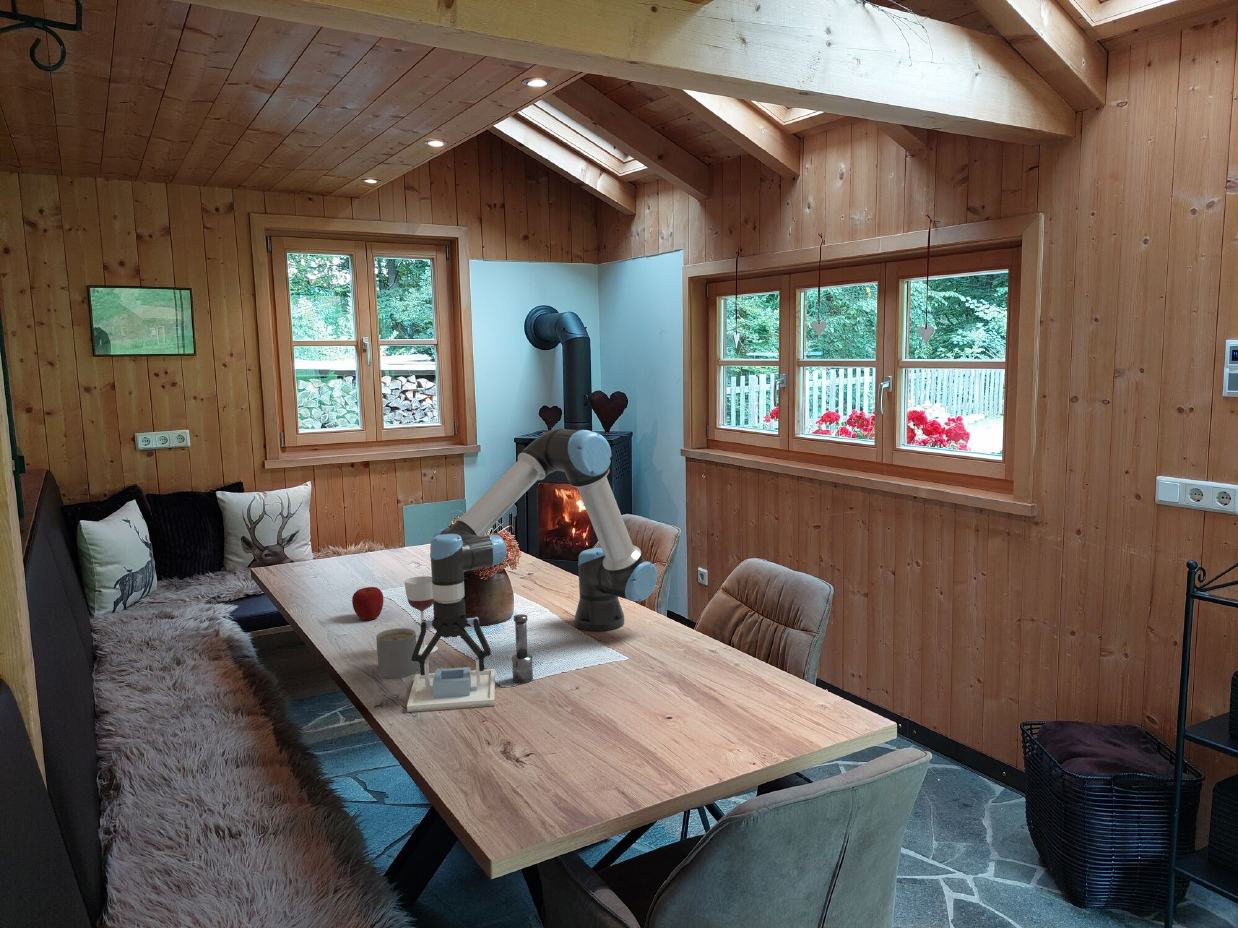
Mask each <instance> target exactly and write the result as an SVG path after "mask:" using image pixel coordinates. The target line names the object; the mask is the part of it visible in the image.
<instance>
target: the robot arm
mask: <svg viewBox="0 0 1238 928" xmlns="http://www.w3.org/2000/svg"><path fill="white" fill-rule="evenodd" d="M611 458H612V449H611V446H610V443H609V442H608V440H607V439H606V438H605V437H604V436H603V435H601V434H600V433H598V432H595V431H592V430H588V429H580V430H578V429H577V430H576V429H567V428H566V429H565V428H555V429H551V430H549V431H547V432H545V433H543V434H542V435H539V437H537V438H535V439H534V440H533V441H532V442H530V444H528V445H527V446H526V447H525V448H524V449H523V450H522V451H521V452H519V454H518V456H517V461H516V462H515V463H514V464H513V465H512V466H511V467H510V468H509V469H508V470H507V471H506V472H505V473H504V474H503V475H502V476H500V478H499V479H497V481H496V482H495V483H493V485H492V486H491V487H490V488H489V489H488V490H487V491H486V492H485V493H484V494H482V496H481V497H480V498H478V500H477V501H476V502H475V503H474V504H472V506H471V507H469V509H468V510H467V511H466V512H465V513H464V514H463V515H462V516H461V517H460V518H458V520H457V521H456V522H455V523H453V525H451V526H450V527H444V528H443V527H442V528H440V529H438V530H437V531H436V532H434V535H433V536H432V538H431V540H430V547H429V548H430V549H429V550H430V551H429V557H430V568H431V569H430V570H431V577H432V592H433V599H434V602H433V604H432V608H433V620H426V619H424V620H422V622H421V621H420V632H419V635H418V638H417V640H416V647H415V649H414V652H413V655H412V661H417V663H419V674H421V675H425V687H426V689H429V686H430V681H429V673H430V667H429V663H430V662H429V659H427V658H428V657H429V655H430V654H431V653H430V652H431V651H432V649H433V648H434V646H437V645H436V644H438V642H439V641H440V639H441V638H444V639H446V638H457V637H460V638H461V639H462V640H463V641H464V642H465V643H466V644H467V646H468V647H469V648H470V649H471V651H472V652H473V653H474V654H475V670H476V678H477V686H480V671H484V670H485V658H486V657H490V656H491V655H492V649H491V647H490V645H489V643H488V640H487V639H486V636H485V634H484V633H483V629H482V628H481V626H480V617H479V616H477V615H476V616H474V617H469V618H468V617H467V616H466V600H465V598H464V597H465V579H464V578H465V577H464V576H465V575H464V574H465V573H464V572H470V571H473V570H474V571H475V570H479V569H484V568H487V567H488V568H489V567H493V566H495V565H499V564H502V563H503V562H504V561H505V559H506V557H507V545H506V543H505V540H504V539H503V537H501V536H500V535H499V534H487V535H485V534H486V533H487V532H488V531H489V530H490V529H491V528H492V527H493V526H494V525H495V524H496V523H497V522H498V521H499V520H500V519H501V518H502V517H503V516H504V515H505V514H506V512H508V510H510V509H511V508H512V506H513V505H514V504H515V503H516V502H518V501H519V499H521V497H522V496H523V495H524V494H525V493H526V492H528V491H529V490H530V488H531V487H532V486H533V485H534V484H535V483H536V482H538V481H542V480H543V481H544V479H545V478H546V477H547V476H548V475H549V474H551V473H554V472H563V473H564V474H565V476H566V478H567V481H568V482H569V486H570V487H572V488H576V489H577V490H578V493H579V495H580V497H581V498H580V499H581V500H582V503H583V505H584V508H585V510H586V513H587V515H588V517H589V520H590V522H591V525H592V527H593V531H594V533H595V534H596V537H597V540H598V542H599V545H600V547H594V548H589V549H586V550H582V551H581V552H580V553H579V555H578V563H577V566H578V567H577V568H578V569H577V570H578V588H579V601H578V604H577V607H576V611H575V614H574V626H575V627H576V628H578V629H580V630H583V631H589V632H590V631H592V632H601V631H611V630H612V631H613V630H616V629H618V628H621V627H623V626H624V625H625V614H624V611H623V608H622V606H621V603H620V599H619V598H622V599H625V600H627V601H630V602H631V601H635V602H642V601H645V600H647V599H648V598H649V597H650V596H651V595H652V593H653V592H654V590H655V588H656V585H657V582H658V569H657V567H656V566H655V565H654V564H653V563H652V562H650V561H646V560H645V558H644V555H643V553H642V551H641V548H639V547H638V546H636V545H634V544H633V541H632V539H631V536H630V534H629V531H628V529H627V526H626V523H625V522H624V521H625V520H624V518H623V515H622V514H621V511H620V508H619V505H618V503H617V499H615V496H614V493H613V489H612V488H611V485H610V483H609V480H608V477H607V476H608V475H609V474H610V465H611V462H612V461H611ZM467 625H470V627H471V628H473V630H474V632H475V634H476V637H477V639H478V641H479V643H480V645H481V647H482V649H481V647H480V646H479V645H478V644H477V643H476V641H475V640H474V638H472V636H470V633H468V631H467V630H466V626H467ZM431 627H433V628H434V630H435V631H436V632H435V633H434V635H433V637H432V638H431V640H430V641H429V643H428V644H427V645H428V646H427V647H426V649H425V650H424V652H423V653H422V654H419V651H420V648H421V645H423V644H422V642H423V640H424V637H425V638H426V633H427V631H429V630H430V628H431Z"/></svg>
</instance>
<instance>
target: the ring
mask: <svg viewBox="0 0 1238 928" xmlns="http://www.w3.org/2000/svg"><path fill="white" fill-rule="evenodd" d="M434 673H435V674H434V679H433V696H434V698H446V697H459V696H470V688H471V667H470V666H466V667H465V666H463V667H453V668H438V669H435V670H434Z"/></svg>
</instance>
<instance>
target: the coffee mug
mask: <svg viewBox="0 0 1238 928" xmlns="http://www.w3.org/2000/svg"><path fill="white" fill-rule="evenodd" d="M416 634H417V633H416V630H414V629H412V628H407V627H405V628H404V627H401V628H400V627H398V628H389V629H386V630H383V631H380V632H378V633H377V635H376V638H375V639H376V650H377V651H376V652H377V655H376V656H377V666H378V667H377V670H378V671H377V672H378V675H379V676H380V677H382V678H386V679H387V678H388V679H397V678H399V679H400V678H404V677H409V676H411V675H413V674H416V672H417V671H418V662H417V661H412V655H413V652H414V649H415V647H416V644H417V635H416Z"/></svg>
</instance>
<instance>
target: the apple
mask: <svg viewBox="0 0 1238 928" xmlns="http://www.w3.org/2000/svg"><path fill="white" fill-rule="evenodd" d="M351 602H352V607H353V610H354V612H355V614H356V616H357V617H358V618H359V619H361V620H363V621H364V620H365V621H367V620H368V621H369V620H375V619H377V618H378V617H379V616H380V615H381V613H382V611H383V607H384V594H383V591H382V590H381V589H380V588H379V587H375V586H367V587H362V588H359V589H357V590H356V591H355V592H354V593H353V595H352V598H351Z"/></svg>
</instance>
